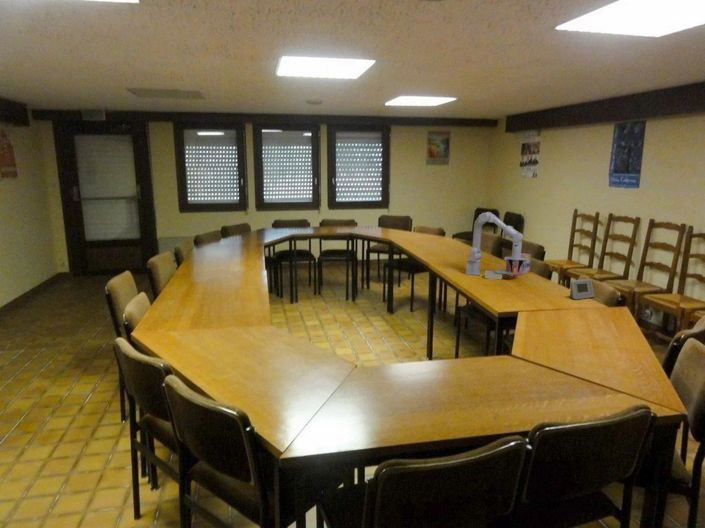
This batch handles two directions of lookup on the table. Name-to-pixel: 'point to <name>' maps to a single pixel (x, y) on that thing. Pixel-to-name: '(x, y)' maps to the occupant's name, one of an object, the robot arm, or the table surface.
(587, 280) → the digital clock
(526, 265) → the gum box
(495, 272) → the lid
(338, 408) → the table surface
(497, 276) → the tub
